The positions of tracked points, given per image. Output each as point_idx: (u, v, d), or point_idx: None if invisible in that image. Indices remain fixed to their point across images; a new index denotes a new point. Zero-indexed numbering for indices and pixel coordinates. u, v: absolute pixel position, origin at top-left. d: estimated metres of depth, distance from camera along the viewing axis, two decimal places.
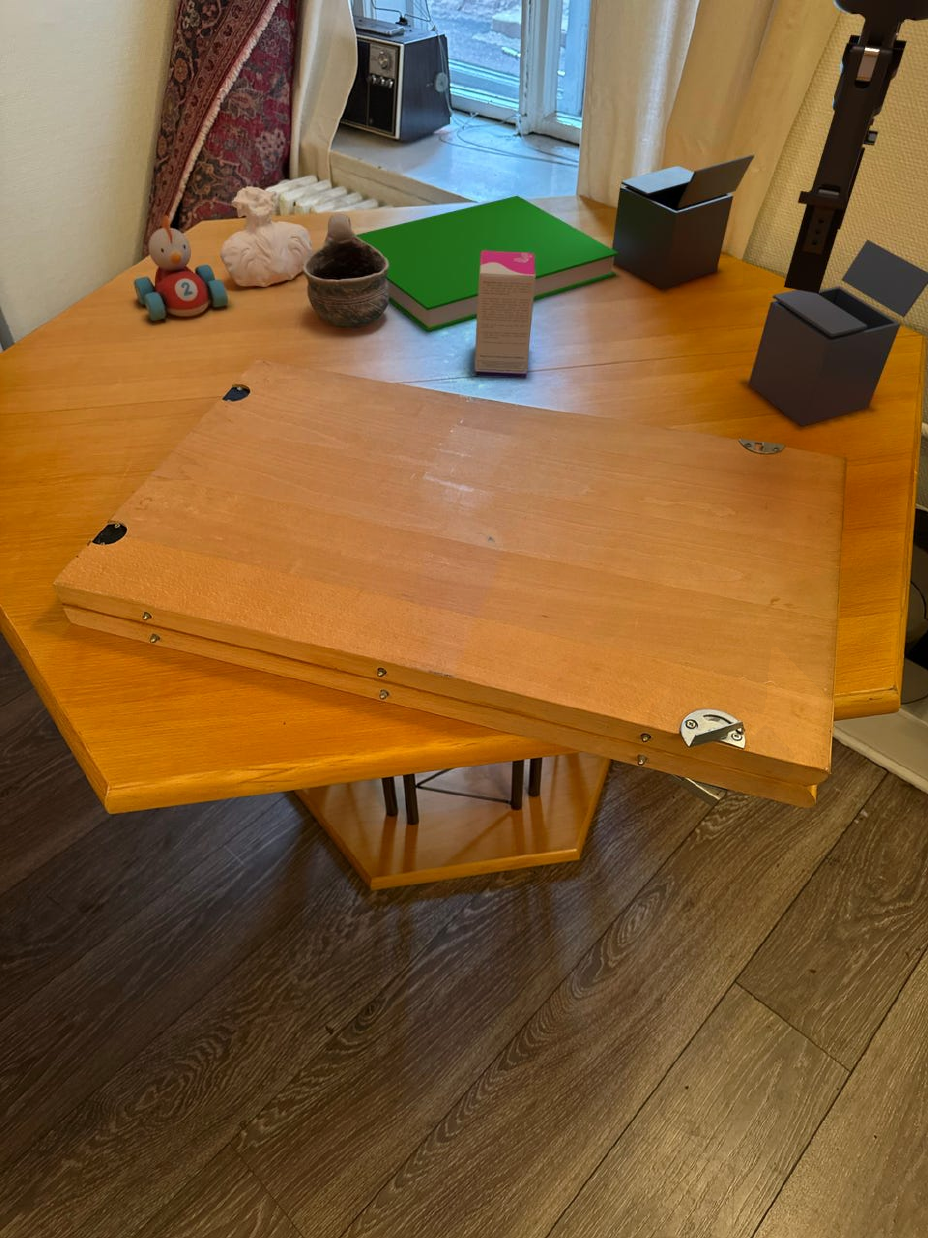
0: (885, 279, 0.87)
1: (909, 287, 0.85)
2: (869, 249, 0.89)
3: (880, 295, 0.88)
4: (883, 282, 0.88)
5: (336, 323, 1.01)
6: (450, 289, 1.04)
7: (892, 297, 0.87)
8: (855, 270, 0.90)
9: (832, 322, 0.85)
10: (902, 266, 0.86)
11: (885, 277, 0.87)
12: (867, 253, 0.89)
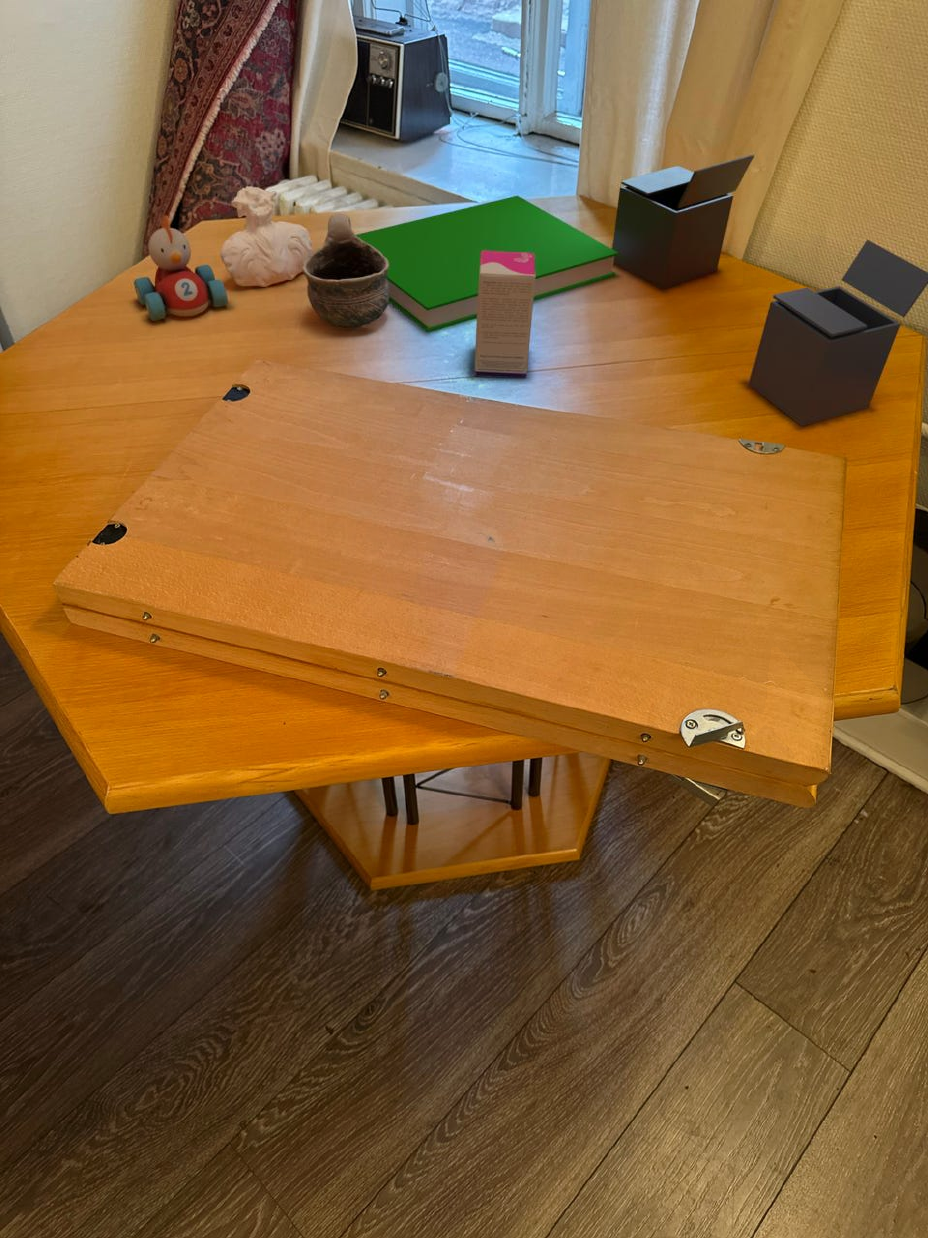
0: (885, 279, 0.87)
1: (909, 287, 0.85)
2: (869, 249, 0.89)
3: (880, 295, 0.88)
4: (883, 282, 0.88)
5: (336, 323, 1.01)
6: (450, 289, 1.04)
7: (892, 297, 0.87)
8: (855, 270, 0.90)
9: (832, 322, 0.85)
10: (902, 266, 0.86)
11: (885, 277, 0.87)
12: (867, 253, 0.89)
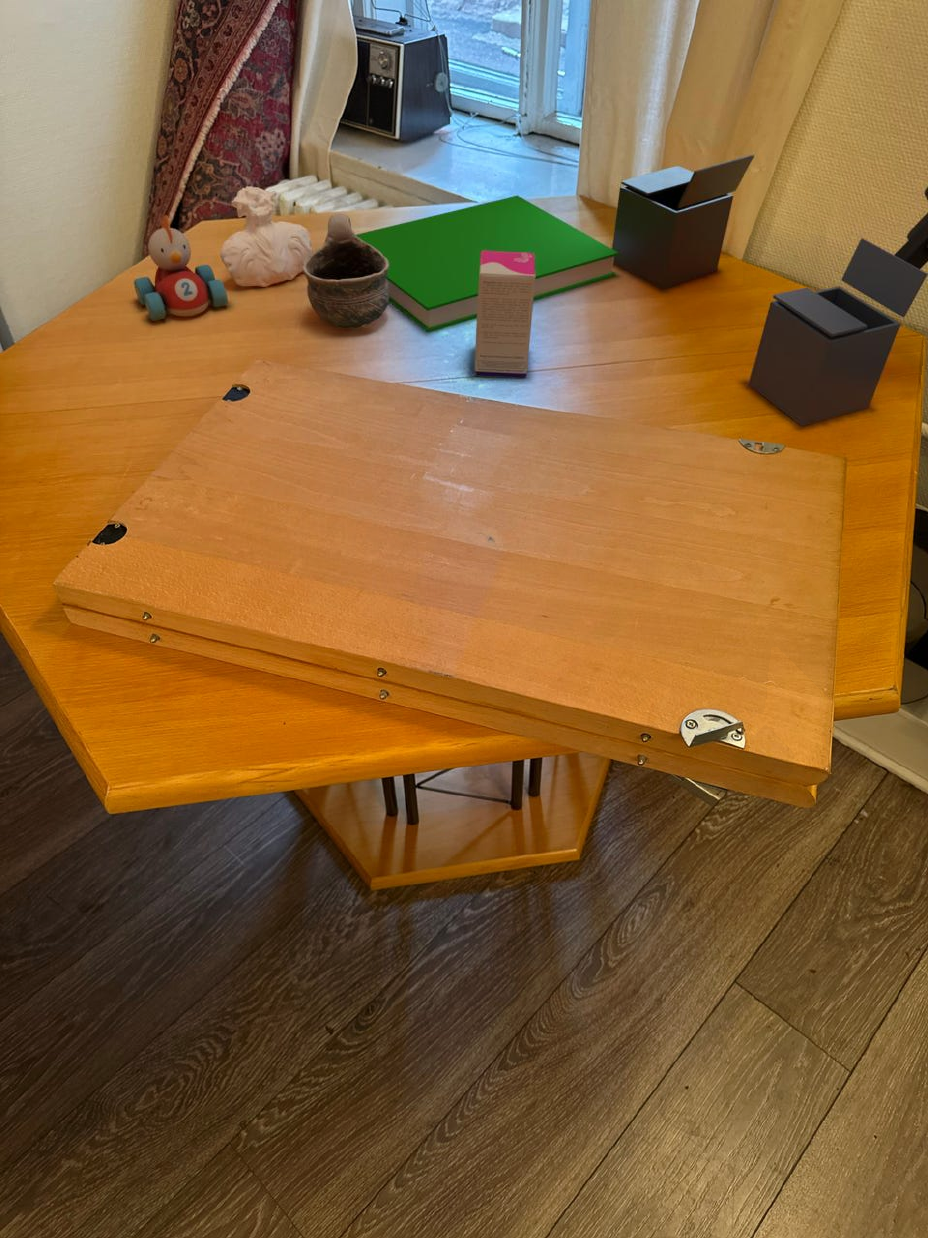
0: (882, 279, 0.87)
1: (906, 286, 0.85)
2: (864, 248, 0.89)
3: (879, 295, 0.88)
4: (880, 282, 0.87)
5: (336, 323, 1.01)
6: (450, 289, 1.04)
7: (890, 297, 0.87)
8: (853, 270, 0.90)
9: (832, 322, 0.85)
10: (897, 265, 0.86)
11: (882, 277, 0.87)
12: (862, 252, 0.89)
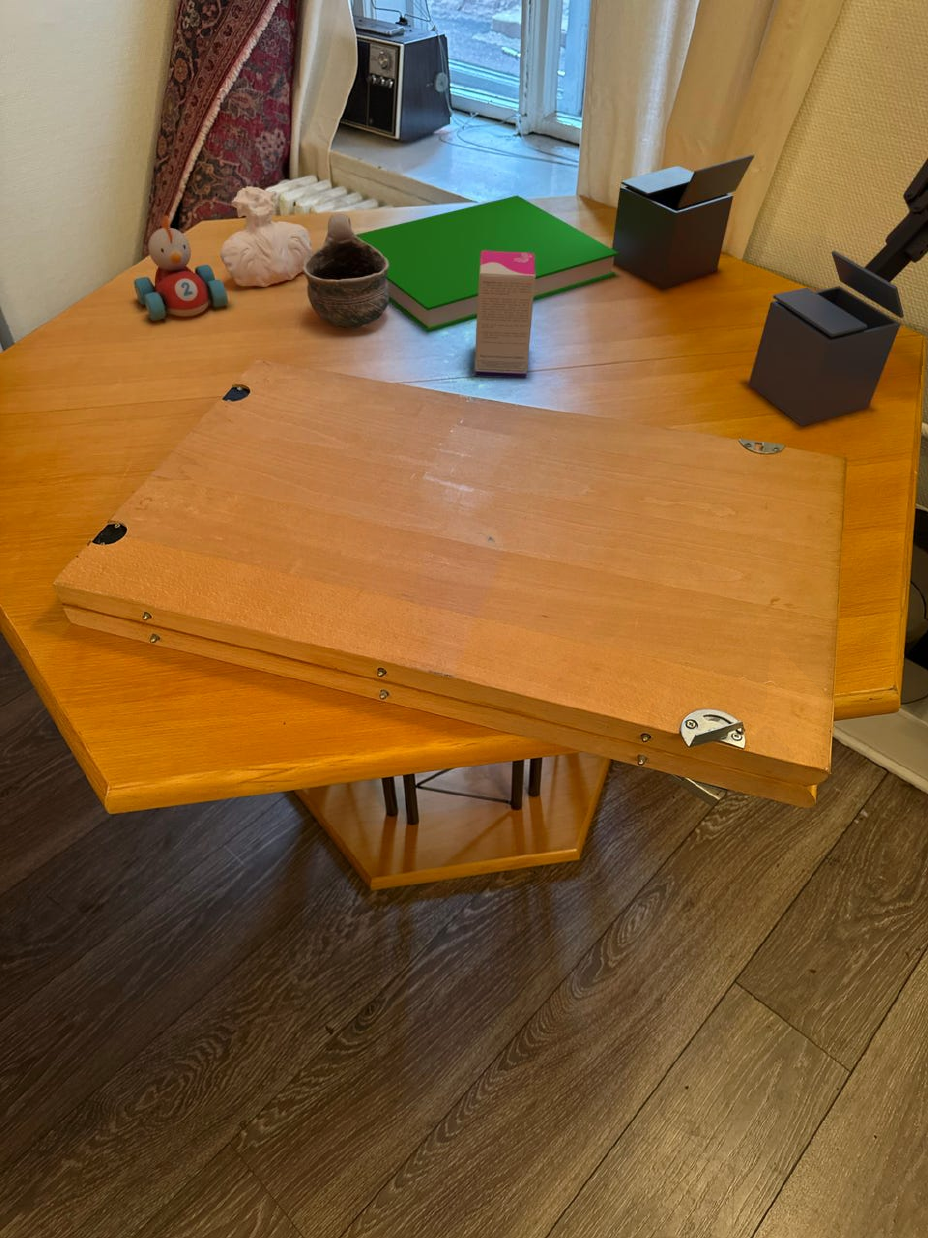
0: (867, 286, 0.87)
1: (887, 296, 0.85)
2: (839, 260, 0.88)
3: (874, 298, 0.88)
4: (868, 288, 0.87)
5: (336, 323, 1.01)
6: (450, 289, 1.04)
7: (883, 301, 0.87)
8: (843, 275, 0.90)
9: (832, 322, 0.85)
10: (870, 278, 0.85)
11: (866, 285, 0.87)
12: (840, 263, 0.88)
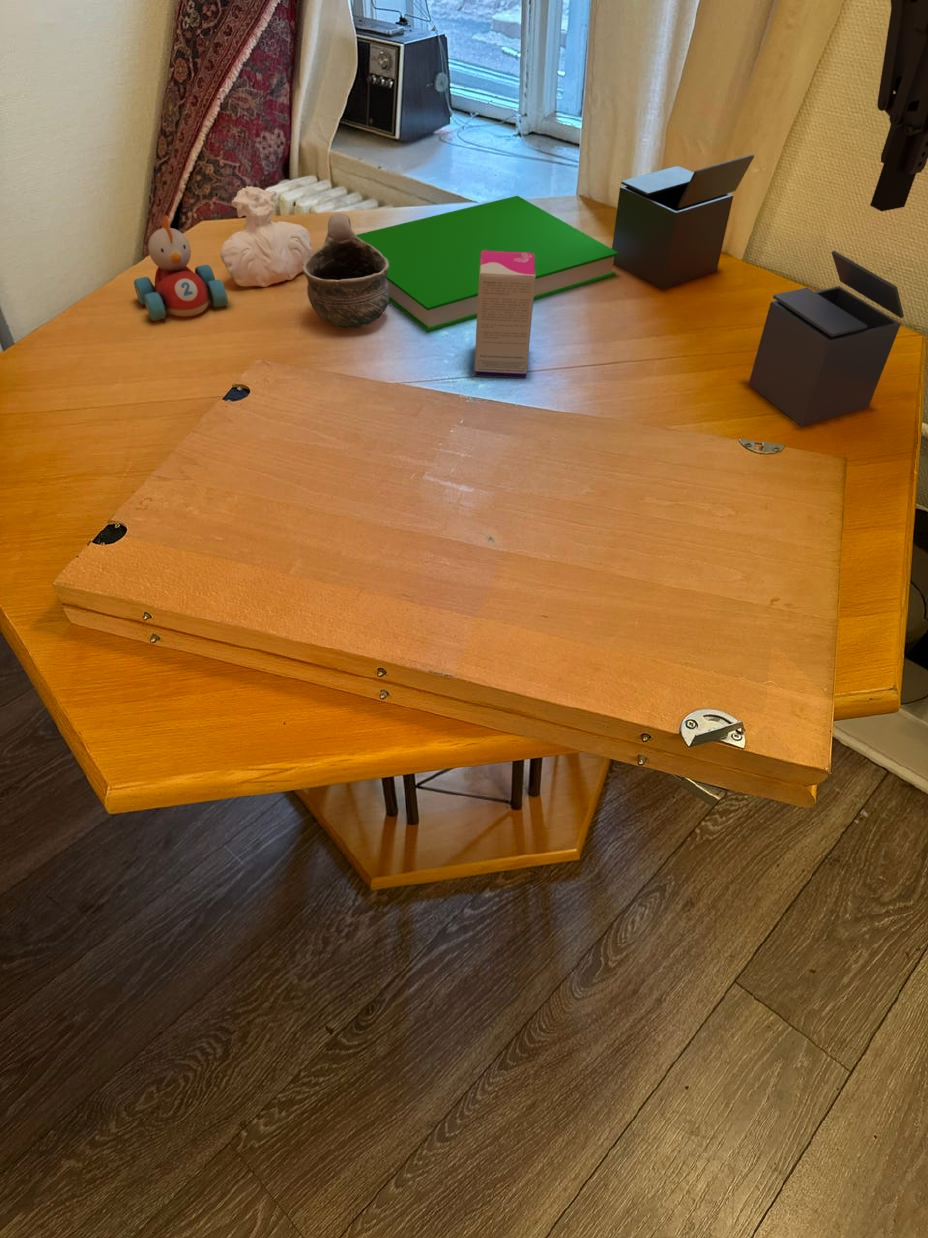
0: (867, 286, 0.87)
1: (887, 296, 0.85)
2: (839, 260, 0.88)
3: (874, 298, 0.88)
4: (868, 288, 0.87)
5: (336, 323, 1.01)
6: (450, 289, 1.04)
7: (883, 301, 0.87)
8: (843, 275, 0.90)
9: (832, 322, 0.85)
10: (870, 278, 0.85)
11: (866, 285, 0.87)
12: (840, 263, 0.88)
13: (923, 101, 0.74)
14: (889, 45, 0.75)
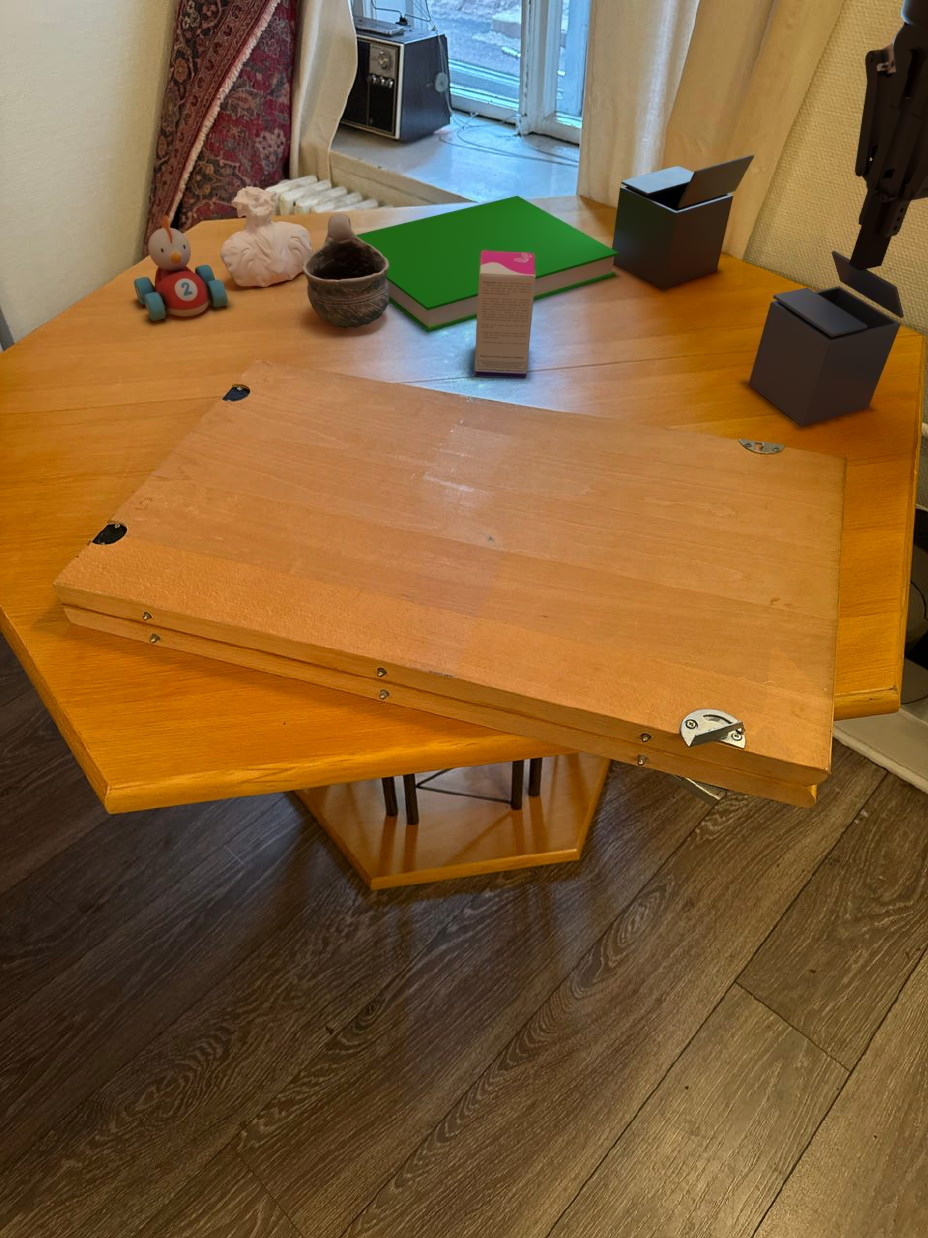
0: (867, 286, 0.87)
1: (887, 296, 0.85)
2: (839, 260, 0.88)
3: (874, 298, 0.88)
4: (868, 288, 0.87)
5: (336, 323, 1.01)
6: (450, 289, 1.04)
7: (883, 301, 0.87)
8: (843, 275, 0.90)
9: (832, 322, 0.85)
10: (870, 278, 0.85)
11: (866, 285, 0.87)
12: (840, 263, 0.88)
13: (897, 171, 0.78)
14: (865, 116, 0.79)
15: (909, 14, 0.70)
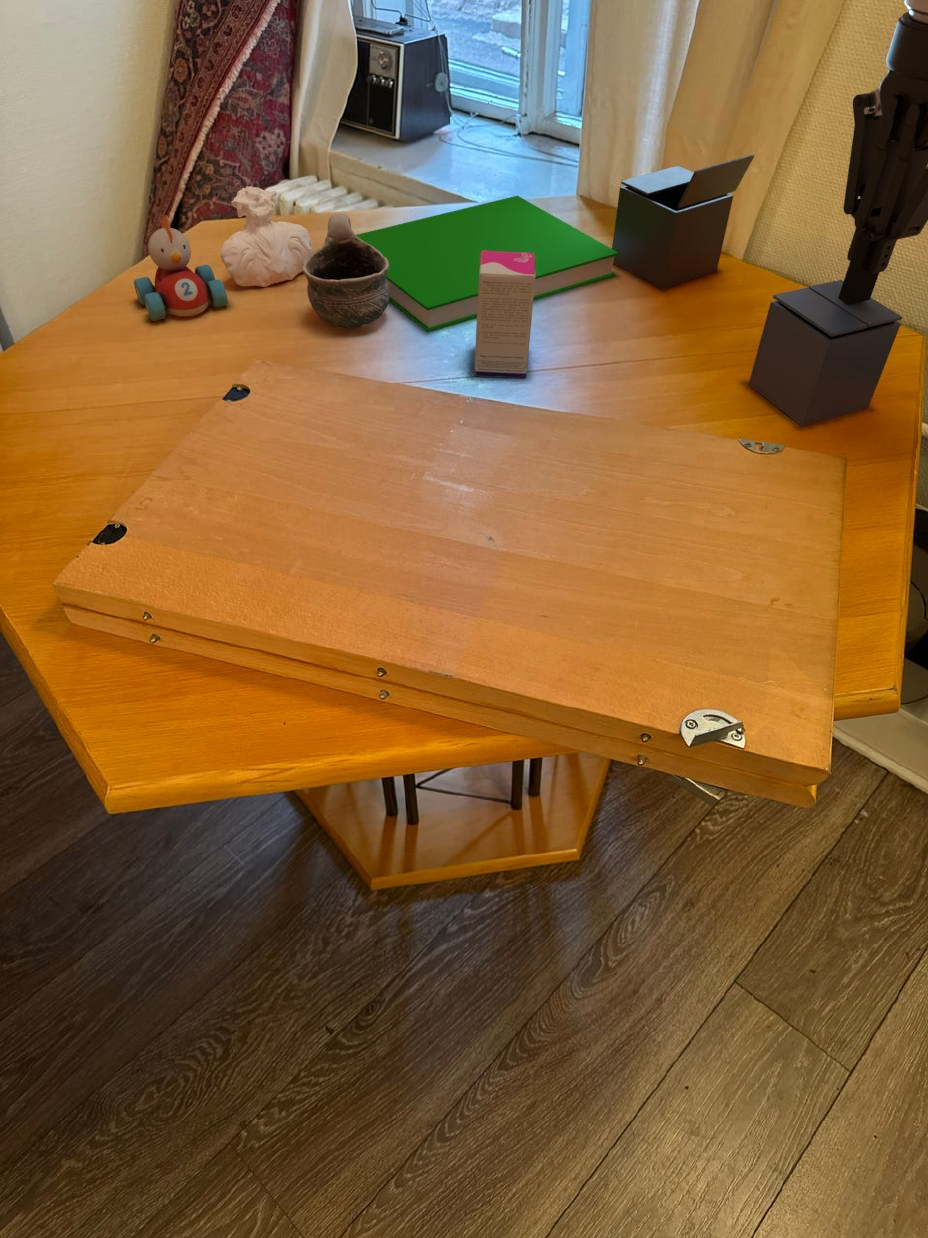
0: None
1: None
2: None
3: None
4: None
5: (336, 323, 1.01)
6: (450, 289, 1.04)
7: None
8: None
9: (832, 322, 0.85)
10: None
11: None
12: None
13: (884, 210, 0.80)
14: (853, 157, 0.82)
15: (894, 63, 0.73)
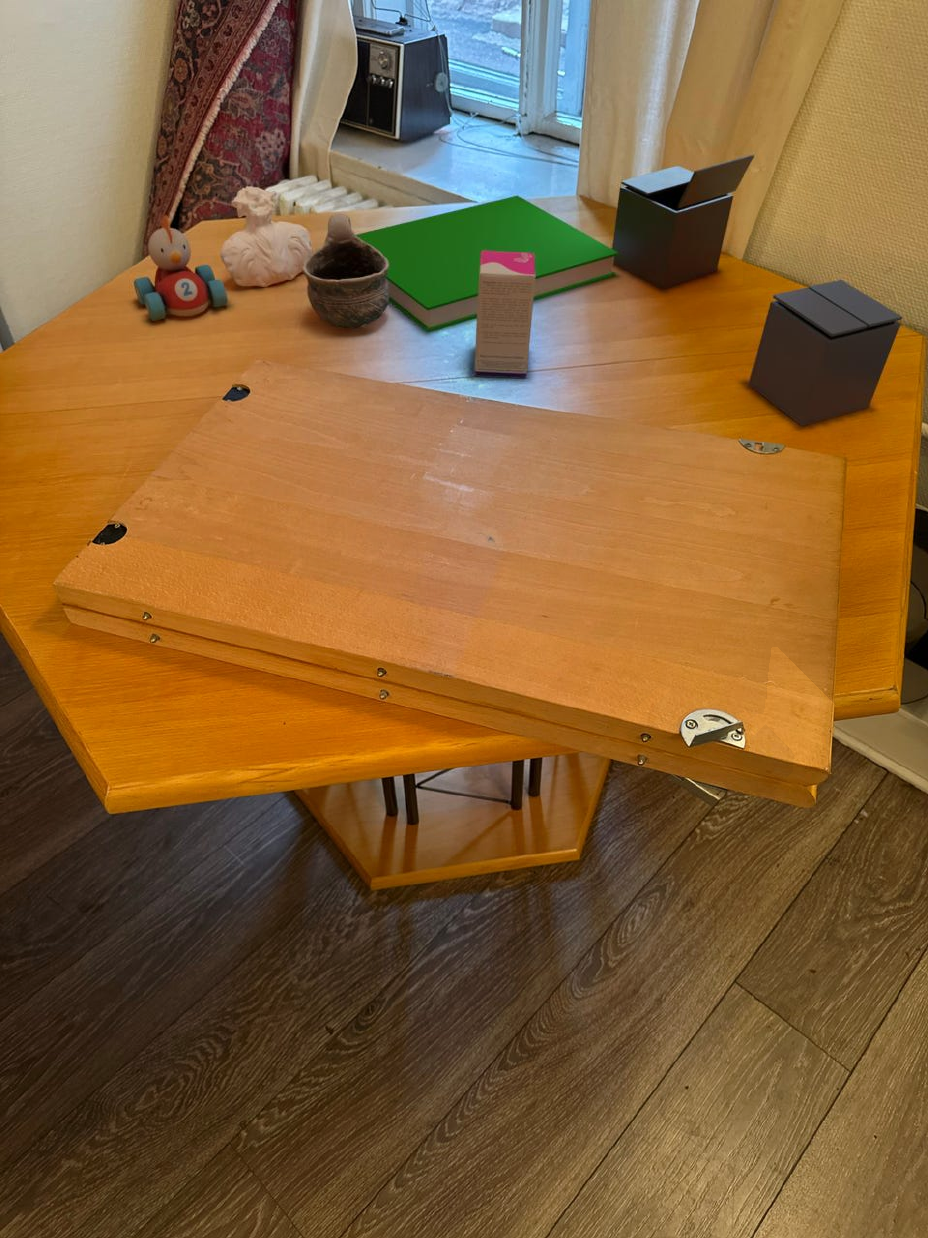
0: None
1: None
2: None
3: None
4: None
5: (336, 323, 1.01)
6: (450, 289, 1.04)
7: None
8: None
9: (832, 322, 0.85)
10: None
11: None
12: None
13: None
14: None
15: None
